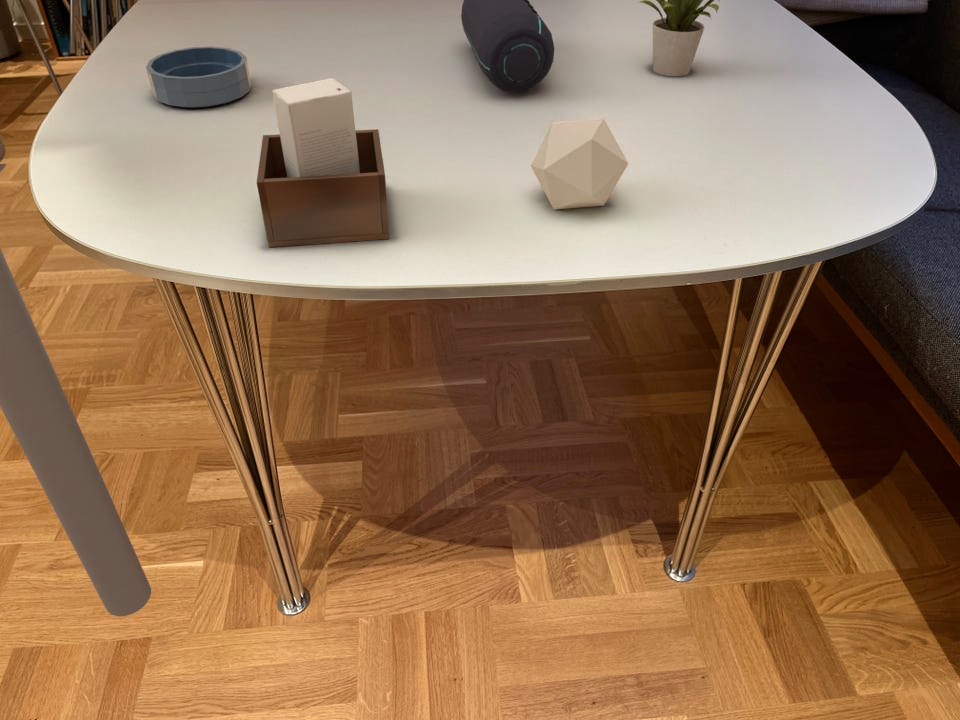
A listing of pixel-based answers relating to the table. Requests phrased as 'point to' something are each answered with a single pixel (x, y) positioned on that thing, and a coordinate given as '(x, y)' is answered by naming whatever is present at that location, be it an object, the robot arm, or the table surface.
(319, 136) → the cosmetic box
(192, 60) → the bowl
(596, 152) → the die
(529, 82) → the portable speaker
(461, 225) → the table surface
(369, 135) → the holder
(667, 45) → the house plant
